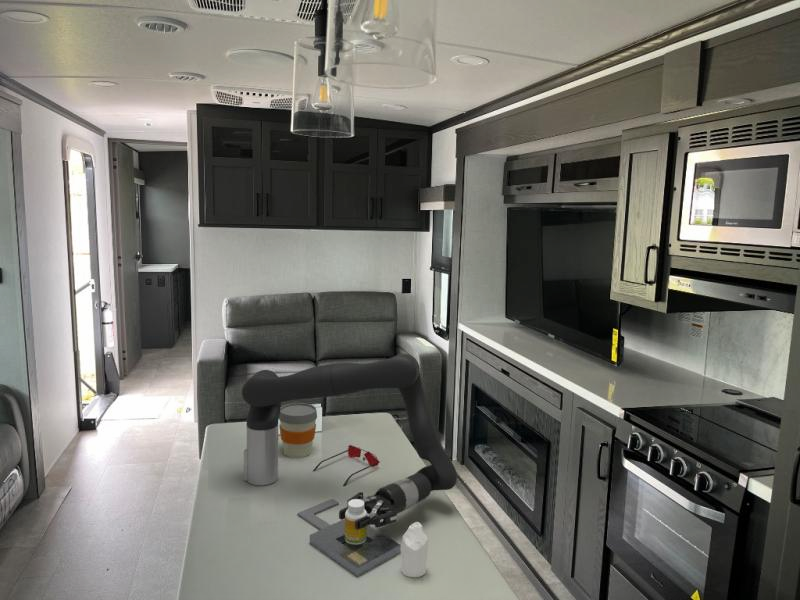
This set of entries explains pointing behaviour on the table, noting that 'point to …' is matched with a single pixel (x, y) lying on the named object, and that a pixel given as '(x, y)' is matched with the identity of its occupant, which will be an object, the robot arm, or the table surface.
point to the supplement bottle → (351, 516)
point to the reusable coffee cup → (297, 428)
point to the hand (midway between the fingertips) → (348, 520)
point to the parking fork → (311, 513)
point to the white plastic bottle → (414, 551)
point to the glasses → (356, 452)
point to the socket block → (357, 560)
